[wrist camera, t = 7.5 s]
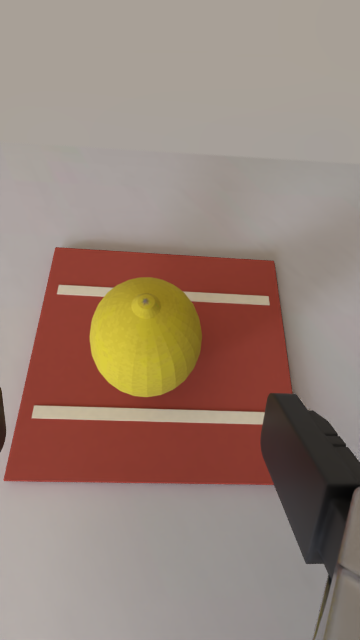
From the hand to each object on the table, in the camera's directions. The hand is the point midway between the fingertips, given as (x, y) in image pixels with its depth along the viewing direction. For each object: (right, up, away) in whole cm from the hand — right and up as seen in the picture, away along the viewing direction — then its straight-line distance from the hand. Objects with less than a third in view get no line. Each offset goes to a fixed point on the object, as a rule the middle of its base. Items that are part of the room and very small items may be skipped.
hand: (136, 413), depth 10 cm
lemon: (-1, 0, +10) cm, 10 cm away
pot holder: (0, +1, +11) cm, 11 cm away
